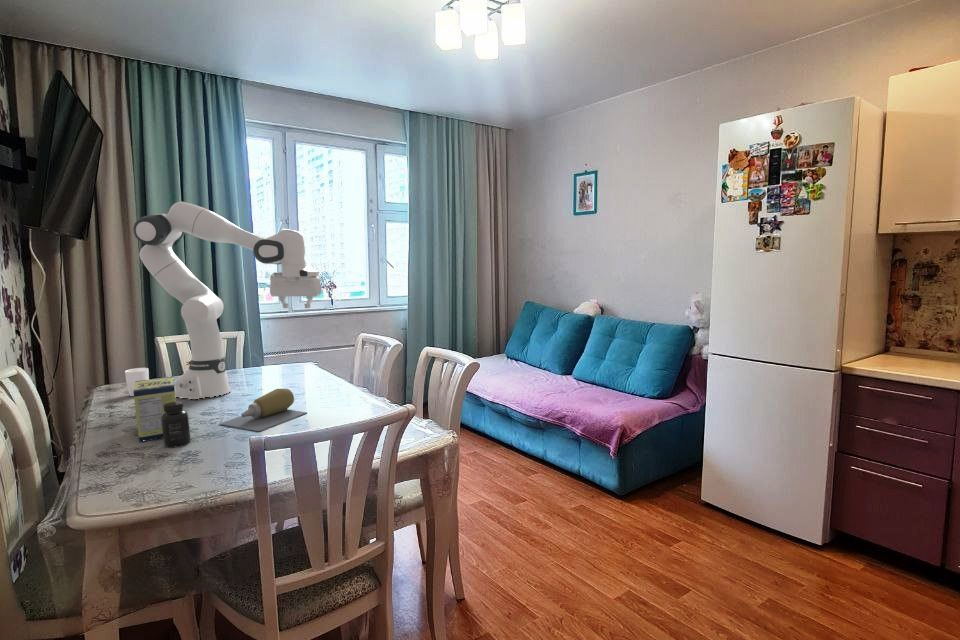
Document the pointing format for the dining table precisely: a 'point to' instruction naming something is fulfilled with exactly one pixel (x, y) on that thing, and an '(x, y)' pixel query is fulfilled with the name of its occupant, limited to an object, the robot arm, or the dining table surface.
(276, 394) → the squeeze bottle
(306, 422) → the dining table surface
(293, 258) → the robot arm
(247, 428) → the mat
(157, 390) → the protein box
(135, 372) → the white cup
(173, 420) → the supplement bottle
